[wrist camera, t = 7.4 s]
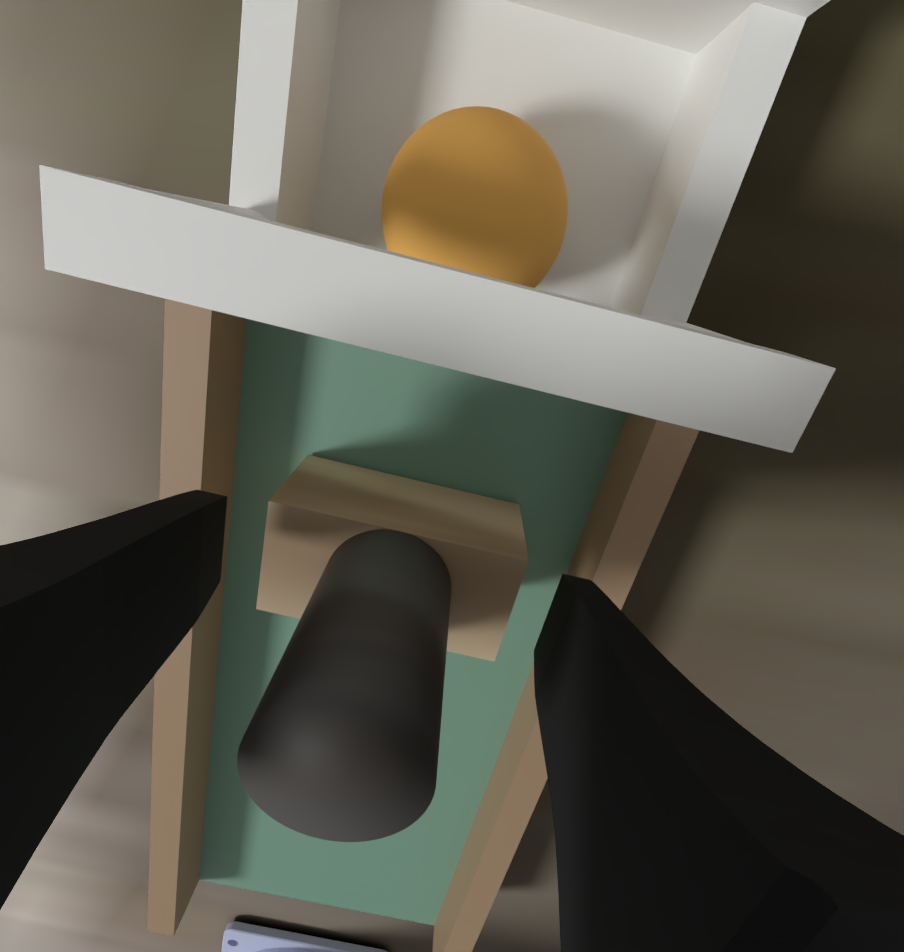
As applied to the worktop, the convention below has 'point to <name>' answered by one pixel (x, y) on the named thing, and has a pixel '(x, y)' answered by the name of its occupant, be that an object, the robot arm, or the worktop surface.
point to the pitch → (435, 375)
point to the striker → (370, 641)
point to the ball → (477, 196)
